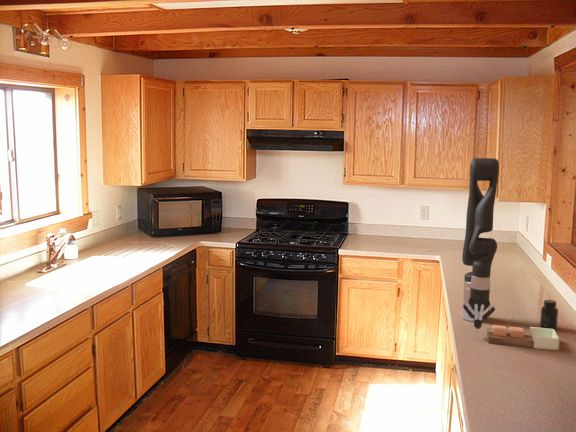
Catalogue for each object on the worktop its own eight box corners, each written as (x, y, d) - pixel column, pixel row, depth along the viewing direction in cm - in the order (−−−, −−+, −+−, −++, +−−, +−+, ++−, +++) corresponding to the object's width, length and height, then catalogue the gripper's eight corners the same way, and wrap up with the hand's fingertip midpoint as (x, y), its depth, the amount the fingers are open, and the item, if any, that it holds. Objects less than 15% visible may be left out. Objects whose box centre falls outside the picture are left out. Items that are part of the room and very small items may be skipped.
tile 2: (508, 332, 252) (509, 326, 252) (521, 333, 251) (522, 327, 251) (510, 336, 247) (510, 330, 247) (523, 338, 246) (524, 331, 246)
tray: (529, 337, 254) (530, 326, 253) (552, 339, 252) (553, 329, 251) (533, 348, 242) (534, 336, 242) (558, 350, 240) (559, 339, 240)
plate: (486, 333, 257) (486, 328, 257) (529, 338, 253) (530, 332, 253) (488, 343, 247) (488, 337, 246) (533, 347, 243) (533, 341, 242)
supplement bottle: (543, 324, 271) (545, 297, 269) (559, 328, 266) (561, 301, 264) (536, 328, 266) (539, 301, 264) (552, 332, 261) (555, 304, 259)
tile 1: (492, 331, 254) (492, 325, 253) (505, 332, 252) (505, 326, 252) (493, 335, 249) (493, 329, 248) (506, 336, 248) (506, 330, 247)
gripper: (496, 285, 252) (493, 327, 254) (462, 283, 255) (460, 323, 257) (498, 290, 244) (495, 332, 247) (463, 287, 247) (460, 329, 250)
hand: (477, 328), depth 252 cm, fingers closed
